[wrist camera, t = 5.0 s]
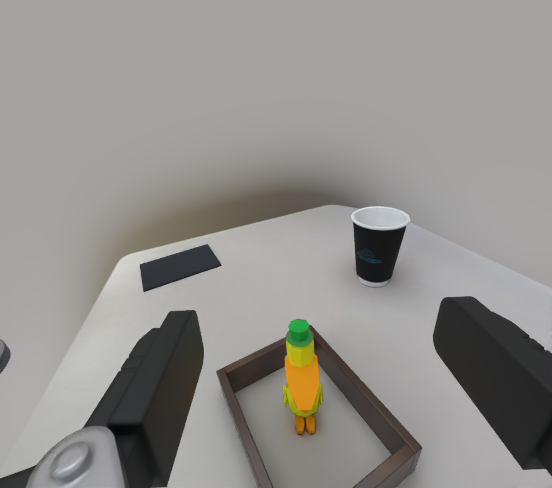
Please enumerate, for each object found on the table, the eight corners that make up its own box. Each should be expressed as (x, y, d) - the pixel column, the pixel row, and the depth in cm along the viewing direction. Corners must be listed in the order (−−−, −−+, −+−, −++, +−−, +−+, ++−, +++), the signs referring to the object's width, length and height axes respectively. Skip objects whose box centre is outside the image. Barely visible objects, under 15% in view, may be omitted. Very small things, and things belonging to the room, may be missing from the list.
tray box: (292, 579, 17) (288, 563, 15) (222, 391, 29) (216, 370, 27) (415, 469, 21) (423, 447, 20) (311, 345, 33) (310, 324, 31)
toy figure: (329, 467, 22) (331, 375, 16) (286, 469, 22) (273, 377, 17) (319, 389, 28) (317, 301, 22) (285, 391, 28) (275, 304, 22)
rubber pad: (143, 291, 46) (143, 290, 46) (140, 265, 54) (139, 264, 54) (221, 265, 51) (221, 264, 51) (207, 245, 59) (207, 244, 59)
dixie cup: (350, 292, 41) (354, 228, 36) (346, 264, 48) (349, 206, 43) (405, 294, 40) (417, 227, 34) (393, 264, 46) (402, 205, 41)
